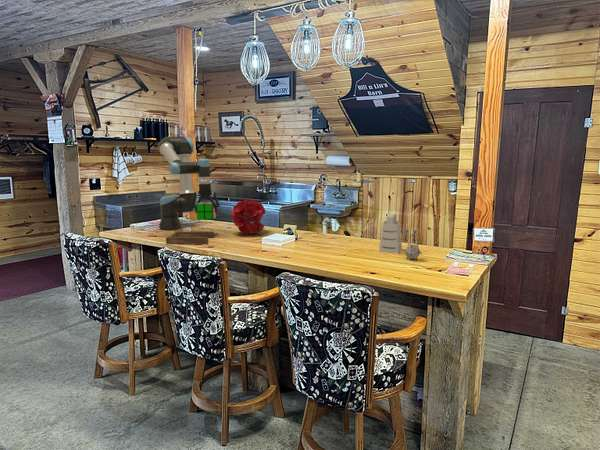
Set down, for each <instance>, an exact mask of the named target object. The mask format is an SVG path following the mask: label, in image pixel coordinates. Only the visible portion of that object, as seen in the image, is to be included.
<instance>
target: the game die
mask: <svg viewBox="0 0 600 450" xmlns="http://www.w3.org/2000/svg"><path fill="white" fill-rule="evenodd" d="M402 251H403V252H404V254H405V256H406V259H407V260H408V259H411V260H415V261H418V257H419V255H421V254H422V252H421V251H420V248H419V243H418V244H411V243H407V246H406V247H405V249H402ZM406 259H405V260H406Z"/></svg>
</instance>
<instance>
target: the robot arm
mask: <svg viewBox="0 0 600 450" xmlns="http://www.w3.org/2000/svg"><path fill="white" fill-rule="evenodd" d="M194 148H195V147H194V142H193V140H192V138H190V137H189V136H165V137H163V138H162V139H161V140H160V141H159V142H158V145H157V149H158V151H159V153H160V154H161V155H162V156H164V158H165V159H166V161H167V163H168V164H169V165H168V166H169V168H168V169H169V173H170V174H171V175H178V176H179V186H180V192H179V193H178V195H177V194H169V195H164V196H162V197H160V199H159V205H160V221H159V226H158V229H159V230H161V231H174V230H175V231H176V230H180V229H182V223H181V220H180V217H179V214H180V213H181V214H182V213H184V214H185V213H192V212H194V213H195V214H197V207H196V204H198V203H200V202H201V201H202V200H203V199H208V200H209V202H211V203H213V206H214V207H215V208H213V212H214V219H217V213H218V208H219V207H220V206H221V205H220V202H219V200H218V196H217V191H212V183H211V182H212V179H211V163H210V159H209V158H198V159H197V161H191V159H190V158H191V157H192V155H193V154H194V151H195V149H194ZM192 153H193V154H192ZM192 174H194V175H197V176H198V191H194V185H193V176H192ZM211 195H212V196H213V197H212V196H211ZM213 198H214V199H213Z"/></svg>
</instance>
